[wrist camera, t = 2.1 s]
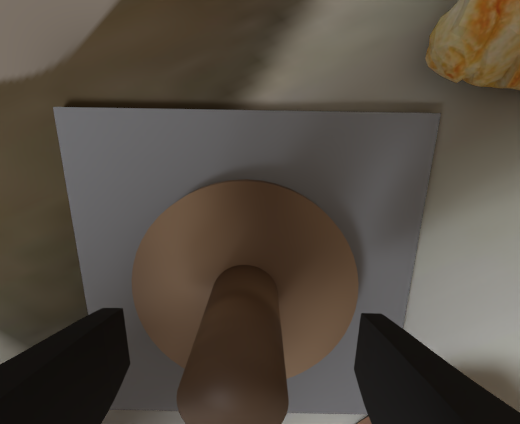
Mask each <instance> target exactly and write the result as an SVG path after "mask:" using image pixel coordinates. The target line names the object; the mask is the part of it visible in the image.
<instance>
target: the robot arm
mask: <svg viewBox="0 0 520 424" xmlns="http://www.w3.org/2000/svg"><path fill="white" fill-rule="evenodd" d="M129 366H130V357H129V349H128V342H127V334H126V327H125V319H124V312H123V308H101V309H99V310H97V311H95V312H93V313H91V314H89V315H88V316H86V317H84V318H82V319H80V320H78V321H77V322H75V323H73V324H71V325H70V326H68V327H66V328H64V329H63V330H61V331H59V332H57V333H56V334H54V335H52V336H50V337H49V338H47V339H45V340H43V341H42V342H40V343H38V344H36V345H34V346H33V347H31V348H29V349H27V350H26V351H24V352H22V353H20V354H19V355H17V356H15V357H13V358H11V359H10V360H8V361H6V362H4V363H2V364H0V424H101V423H102V421H103V419H104V418H105V416H106V414H107V412H108V411H109V409H110V407H111V405H112V403H113V402H114V400H115V397H116V395H117V393H118V391H119V389H120V387H121V385H122V382H123V380H124V378H125V375H126V373H127V371H128V368H129ZM354 371H355V375H356V378H357V382H358V386H359V389H360V392H361V396H362V399H363V402H364V406H365V408H366V411H367V413H368V416H369V419H370V421H371V423H372V424H520V413H519V412H518V411H516V410H515V409H513V408H512V407H510V406H509V405H507V404H506V403H504V402H503V401H501V400H500V399H499V398H497V397H496V396H494V395H493V394H491V393H490V392H488V391H487V390H485V389H484V388H482V387H481V386H480V385H478V384H477V383H475V382H474V381H473V380H471V379H470V378H468V377H467V376H465V375H464V374H463V373H461V372H460V371H459V370H457V369H456V368H454V367H453V366H452V365H450V364H449V363H448V362H446V361H445V360H444V359H442V358H441V357H439V356H438V355H437V354H435V353H434V352H433V351H431V350H430V349H429V348H427V347H426V346H425V345H423V344H422V343H421V342H420V341H418V340H417V339H416V338H414V337H413V336H412V335H410V334H409V333H408V332H406V331H405V330H404V329H402V328H401V327H400V326H398V325H397V324H396V323H394V322H393V321H392V320H390V319H389V318H387V317H386V316H384V315H383V314H381V313H361V317H360V325H359V333H358V340H357V348H356V356H355V363H354Z"/></svg>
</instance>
